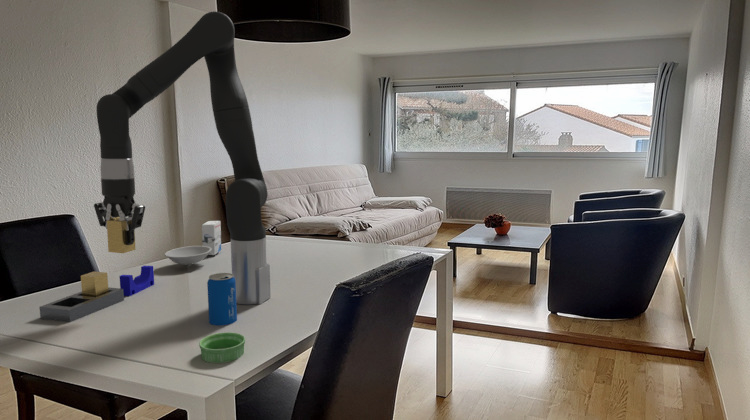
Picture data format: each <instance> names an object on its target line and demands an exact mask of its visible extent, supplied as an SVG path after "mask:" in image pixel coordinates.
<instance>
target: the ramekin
mask: <svg viewBox="0 0 750 420" xmlns="http://www.w3.org/2000/svg"><path fill="white" fill-rule="evenodd" d="M245 343H246V336H245V335H243V334H241V333H238V332H231V331H227V332H225V331H224V332H218V333H213V334H209V335H207V336H205V337H203V338H201V340H200V341H199V343H198V344H199V345H198V346H199V349H200V353H201V354H200V355H201V359H202V360H203V361H205V362H207V363H212V364H213V363H214V364H215V363H216V364H218V363H219V364H221V363H229V362H232V361H234V360H237V359H239V358H241V357H242V356H244V355H245V354H244V353H245Z"/></svg>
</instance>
